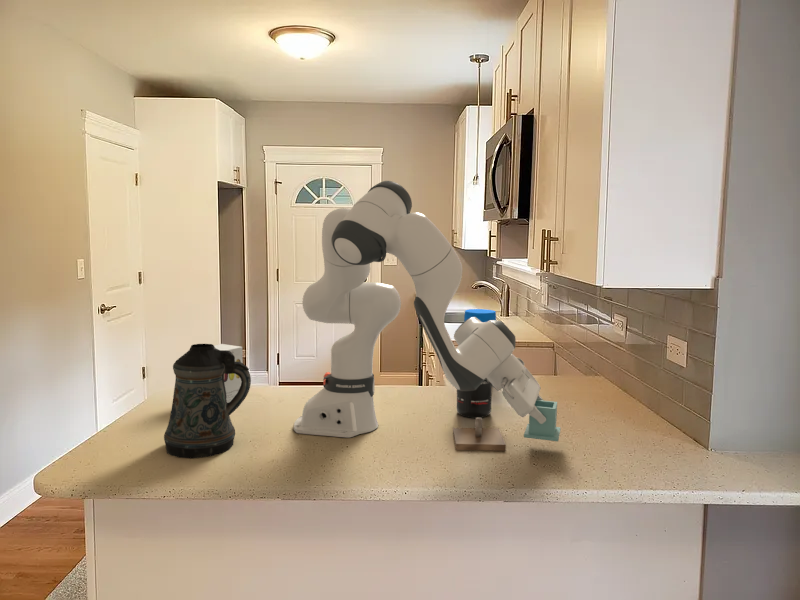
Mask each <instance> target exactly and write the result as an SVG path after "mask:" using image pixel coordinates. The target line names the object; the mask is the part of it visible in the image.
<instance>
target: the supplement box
mask: <svg viewBox="0 0 800 600" xmlns="http://www.w3.org/2000/svg"><path fill="white" fill-rule="evenodd" d="M214 347H215V348H216V349H218V350H228V351H231V353H232V354H233V355H234V356H235V362H237V361H239V362H241V363H243V362H244V361H243V346H241V345H240V346H239V345H232V344H225V343H219V344H214ZM243 364H244V363H243ZM241 382H242V381H241V378H240V377H239V376H238V375H237V374H234V373H233V374H225V373H224V383H225V389H226V397H227V398H226V400H227V403H229V402H230V401H231V400H232V399H233V398H234V397H235V395H236V394H237V393H238V391H239V388H240V386H241Z"/></svg>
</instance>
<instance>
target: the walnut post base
mask: <svg viewBox="0 0 800 600" xmlns="http://www.w3.org/2000/svg"><path fill="white" fill-rule="evenodd" d="M474 426H475V427H452V435H453V436H452V437H453V440H454V447H455V451H497V452H499V451H501V452H505V451H506V450H507V449H506V447H507V445H506V442H505V439H504V437H503V434H502V432H501V429H500V428H497V427H495V428H494V427H493V428H492V427H483V417H481V418H479V417H477V418H475V425H474ZM506 452H507V451H506Z"/></svg>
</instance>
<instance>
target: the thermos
mask: <svg viewBox="0 0 800 600" xmlns="http://www.w3.org/2000/svg"><path fill="white" fill-rule="evenodd" d="M496 313H497V311H495V310H493V309H485V308H483V309H482V308H472V309H471V308H470V309H465V311H464V319H463V320H464V321H463V322H465V321H466V320H467V319H469V318H471V317H476V318H478V319H479V320H480V321H481V322H488V321H489V320H497V314H496Z"/></svg>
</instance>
